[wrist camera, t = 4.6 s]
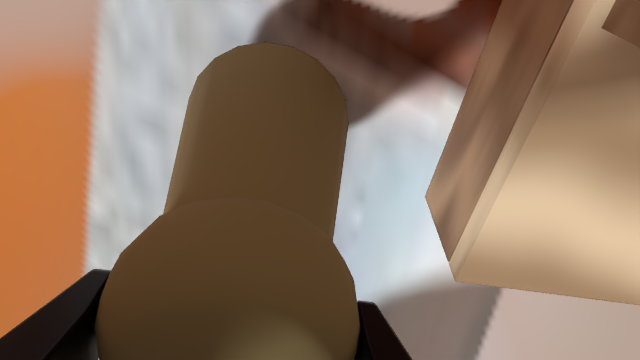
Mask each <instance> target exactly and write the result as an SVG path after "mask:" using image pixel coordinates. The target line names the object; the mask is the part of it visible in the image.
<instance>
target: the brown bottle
mask: <svg viewBox="0 0 640 360" xmlns="http://www.w3.org/2000/svg"><path fill="white" fill-rule="evenodd" d="M347 131H348V114H347V106H346V99H345V97H344V95H343V93H342V91H341V89H340V87H339V85H338V83H337V81H336V79H335V77H334V76H333V75H332V74H331V73H330V72H329V71H328V70H327V69H326V68H325V67H324V66H323V65H322V64H321V63H320V62H319V61H318V60H317V59H315V58H313V57H311V56H309V55H307V54H305V53H303V52H301V51H299V50H297V49H295V48H293V47H290V46H284V45H278V44H272V43H266V42H263V43H257V44H250V45H243V46H237V47H236V48H234V49H232V50H230V51H228V52H226V53H224V54H222V55H220V56H218V57H216V58H214V60H213V61H212V62H211V63H210V64H209V65H208V66H207V67H206V68H205V69H204V70H203V71H202V73H201V74H200V75H199V76H198V77H197V80H196V82H195V85H194V87H193V90H192V92H191V95H190V97H189V101H188V106H187V110H186V115H185V119H184V124H183V128H182V132H181V137H180V141H179V146H178V150H177V155H176V159H175V164H174V168H173V173H172V177H171V182H170V186H169V191H168V195H167V200H166V204H165V209H164V213H163V215H161V216H159V217H158V218H157V219H156V220H155V221H154V222H153V223H152V224H151V225H150V226H149V227H148V228H147V229H146V230H144V231H143V232H142V233H141V234H140V235H139V236H138V237H137V238H136V239H135V240H134V241H133V242H132V243H131V244H130V245H129V246H128V247H127V248H126V249H125V250H124V251H123V252H122V253H121V254H120V256H119V258H118V260H117V261H116V263H115V265H114V267H113V269H112V271H111V272H110V274H109V276H108V279H107V282H106V284H105V287H104V290H103V292H102V295H101V297H100V300H99V303H98V308H97V314H96V320H95V326H94V329H95V336H96V343H97V350H98V355H99V360H354V358H355V355H356V351H357V346H358V340H359V335H360V322H359V315H358V307H357V300H356V292H355V285H354V280H353V277H352V275H351V273H350V271H349V269H348V267H347V265H346V263H345V261H344V259H343V257H342V256H341V254H340V253H339V251H338V249H337V248H336V246H335V245H334V243H333V235H334V228H335V220H336V213H337V205H338V198H339V190H340V183H341V175H342V168H343V161H344V153H345V146H346V138H347Z"/></svg>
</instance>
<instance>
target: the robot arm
mask: <svg viewBox="0 0 640 360" xmlns="http://www.w3.org/2000/svg"><path fill="white" fill-rule="evenodd" d="M110 272H111V270H102V269H94V270H91V271H90V272H88V273H87V274H86V275H84V276H83V277H82V278H80V279H79V280H78V281H77V282H75V283H74V284H73V285H71V286H70V287H68V288H67V289H66V290H64V291H63V292H62V293H60V294H59V295H58V296H56V297H55V298H54V299H52V300H51V301H50V302H49V303H47V304H46V305H44V306H43V307H42V308H40V309H39V310H38V311H36V312H35V313H34V314H32V315H31V316H30V317H28V318H27V319H26V320H24V321H23V322H22V323H20V324H19V325H18V326H16V327H15V328H13V329H12V330H11V331H9V332H8V333H7V334H6V335H4V336H3V337H1V338H0V360H98V358H99V355H98V350H97V343H96V336H95V329H94V326H95V320H96V314H97V308H98V303H99V300H100V297H101V295H102V292H103V290H104V287H105V284H106V282H107V279H108V276H109V274H110ZM357 307H358V315H359V322H360V335H359V340H358V346H357V351H356V355H355V358H354V360H412V358H411V357H410V355H409V354H408V352H407V351H406V349H405V348H404V346H403V345H402V343H401V342H400V340H399V339H398V337H397V336H396V334H395V333H394V331H393V329H392V328H391V326H390V325H389V323H388V322H387V320H386V319H385V317H384V316H383V314H382V313H381V311H380V310H379V308H378V307H377V305H376V304H375V303H373V302H367V301H357Z"/></svg>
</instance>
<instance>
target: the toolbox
mask: <svg viewBox="0 0 640 360" xmlns="http://www.w3.org/2000/svg"><path fill="white" fill-rule="evenodd" d="M573 1H574V0H502V2H501V5H500V7H499V10H498V12H497V15H496V17H495V20H494V22H493V25H492V28H491V30H490V33H489V35H488V38H487V40H486V43H485V45H484V48H483V50H482V53H481V56H480V58H479V61H478V63H477V66H476V68H475V71H474V73H473V76H472V78H471V81H470V84H469V86H468V89H467V91H466V94H465V96H464V99H463V101H462V104H461V106H460V109H459V112H458V114H457V117H456V119H455V122H454V124H453V127H452V129H451V132H450V134H449V137H448V140H447V142H446V145H445V147H444V150H443V152H442V155H441V157H440V160H439V162H438V165H437V168H436V170H435V173H434V175H433V178H432V180H431V183H430V185H429V188H428V190H427V193H426V196H425V198H426V201H427V204H428V207H429V210H430V212H431V215H432V218H433V221H434V224H435V226H436V229H437V232H438V235H439V238H440V240H441V243H442V246H443V249H444V251H445V254H446V257H447V260H448V261H450V259H451V257H452V255H453V253H454V251H455V249H456V247H457V245H458V243H459V240H460V238H461V236H462V234H463V232H464V230H465V228H466V226H467V224H468V222H469V219H470V217H471V215H472V213H473V211H474V209H475V207H476V205H477V203H478V201H479V198H480V196H481V194H482V192H483V190H484V188H485V186H486V184H487V182H488V180H489V177H490V175H491V173H492V171H493V169H494V167H495V165H496V163H497V161H498V159H499V156H500V154H501V152H502V150H503V148H504V146H505V144H506V142H507V140H508V138H509V135H510V133H511V131H512V129H513V127H514V125H515V123H516V121H517V119H518V117H519V114H520V112H521V110H522V108H523V106H524V104H525V102H526V100H527V98H528V96H529V93H530V91H531V89H532V87H533V85H534V83H535V81H536V79H537V77H538V75H539V72H540V70H541V68H542V66H543V64H544V62H545V60H546V58H547V56H548V54H549V51H550V49H551V47H552V45H553V43H554V41H555V39H556V37H557V35H558V33H559V30H560V28H561V26H562V24H563V22H564V20H565V18H566V16H567V14H568V12H569V9H570V7H571V5H572V3H573Z"/></svg>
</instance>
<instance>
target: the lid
mask: <svg viewBox="0 0 640 360" xmlns="http://www.w3.org/2000/svg"><path fill="white" fill-rule="evenodd" d="M449 265H450V268H451V271H452V274H453V277H454V279H455V281H456V282H464V283H471V284H479V285H487V286H495V287H503V288H510V289H519V290H527V291H534V292H542V293H550V294H557V295H565V296H573V297H582V298H588V299H596V300H604V301H612V302H620V303H628V304H635V305H640V0H574V1H573V3H572V5H571V7H570V9H569V12H568V14H567V16H566V18H565V20H564V22H563V24H562V26H561V28H560V30H559V33H558V35H557V37H556V39H555V41H554V43H553V45H552V47H551V49H550V51H549V54H548V56H547V58H546V60H545V62H544V64H543V66H542V68H541V70H540V72H539V75H538V77H537V79H536V81H535V83H534V85H533V87H532V89H531V91H530V93H529V96H528V98H527V100H526V102H525V104H524V106H523V108H522V110H521V112H520V114H519V117H518V119H517V121H516V123H515V125H514V127H513V129H512V131H511V133H510V135H509V138H508V140H507V142H506V144H505V146H504V148H503V150H502V152H501V154H500V156H499V159H498V161H497V163H496V165H495V167H494V169H493V171H492V173H491V175H490V177H489V180H488V182H487V184H486V186H485V188H484V190H483V192H482V194H481V196H480V198H479V201H478V203H477V205H476V207H475V209H474V211H473V213H472V215H471V217H470V219H469V222H468V224H467V226H466V228H465V230H464V232H463V234H462V236H461V238H460V240H459V243H458V245H457V247H456V249H455V251H454V253H453V255H452V257H451V259H450V261H449Z"/></svg>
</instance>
